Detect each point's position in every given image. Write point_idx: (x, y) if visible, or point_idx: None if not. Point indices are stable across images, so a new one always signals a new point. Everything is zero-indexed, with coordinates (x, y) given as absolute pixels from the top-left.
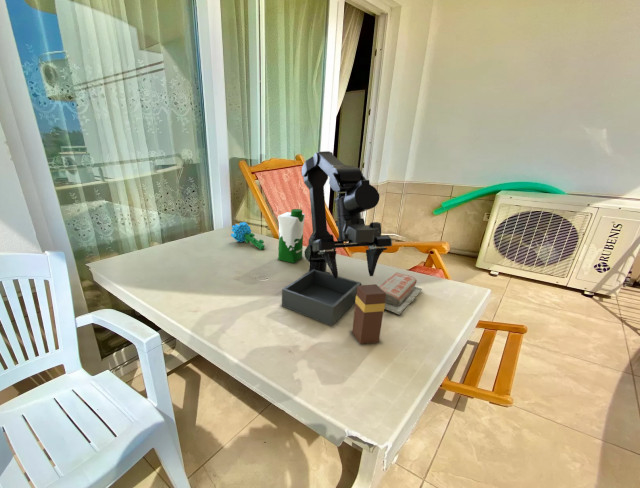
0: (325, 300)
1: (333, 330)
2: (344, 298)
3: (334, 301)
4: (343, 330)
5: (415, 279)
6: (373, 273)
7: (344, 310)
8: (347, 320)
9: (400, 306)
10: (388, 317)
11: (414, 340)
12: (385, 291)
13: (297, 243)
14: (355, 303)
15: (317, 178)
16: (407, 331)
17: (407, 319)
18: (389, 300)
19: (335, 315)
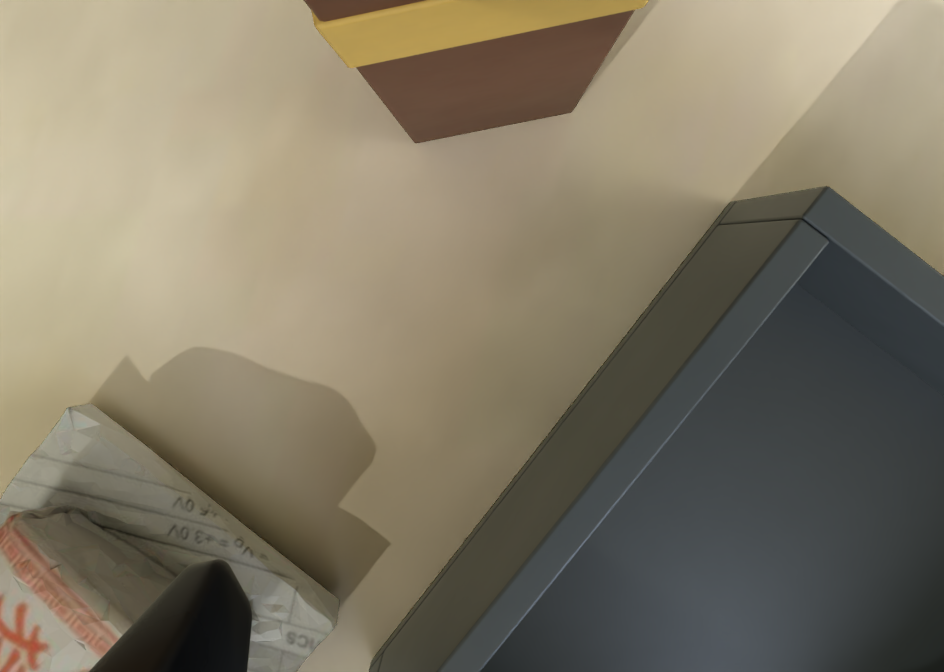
0: (706, 613)
1: (730, 134)
2: (627, 427)
3: (623, 597)
4: (640, 140)
5: None
6: (159, 599)
7: (579, 410)
8: (566, 301)
9: (38, 499)
10: (194, 368)
11: (81, 30)
12: (101, 637)
13: None
14: (634, 10)
15: None
16: (98, 159)
17: (43, 344)
18: (109, 555)
19: (722, 248)
